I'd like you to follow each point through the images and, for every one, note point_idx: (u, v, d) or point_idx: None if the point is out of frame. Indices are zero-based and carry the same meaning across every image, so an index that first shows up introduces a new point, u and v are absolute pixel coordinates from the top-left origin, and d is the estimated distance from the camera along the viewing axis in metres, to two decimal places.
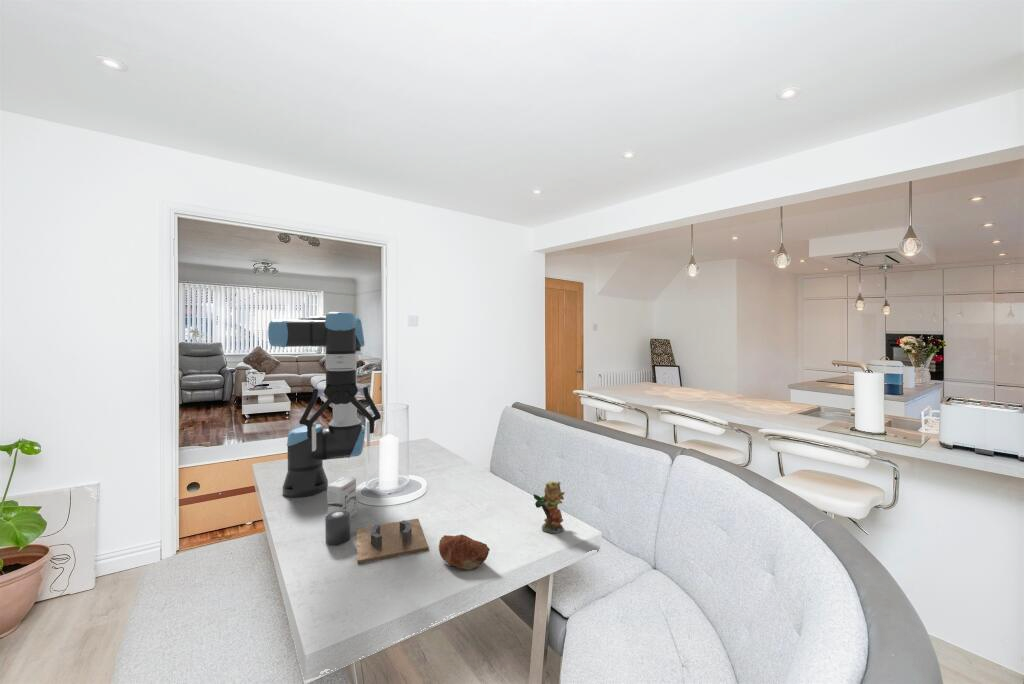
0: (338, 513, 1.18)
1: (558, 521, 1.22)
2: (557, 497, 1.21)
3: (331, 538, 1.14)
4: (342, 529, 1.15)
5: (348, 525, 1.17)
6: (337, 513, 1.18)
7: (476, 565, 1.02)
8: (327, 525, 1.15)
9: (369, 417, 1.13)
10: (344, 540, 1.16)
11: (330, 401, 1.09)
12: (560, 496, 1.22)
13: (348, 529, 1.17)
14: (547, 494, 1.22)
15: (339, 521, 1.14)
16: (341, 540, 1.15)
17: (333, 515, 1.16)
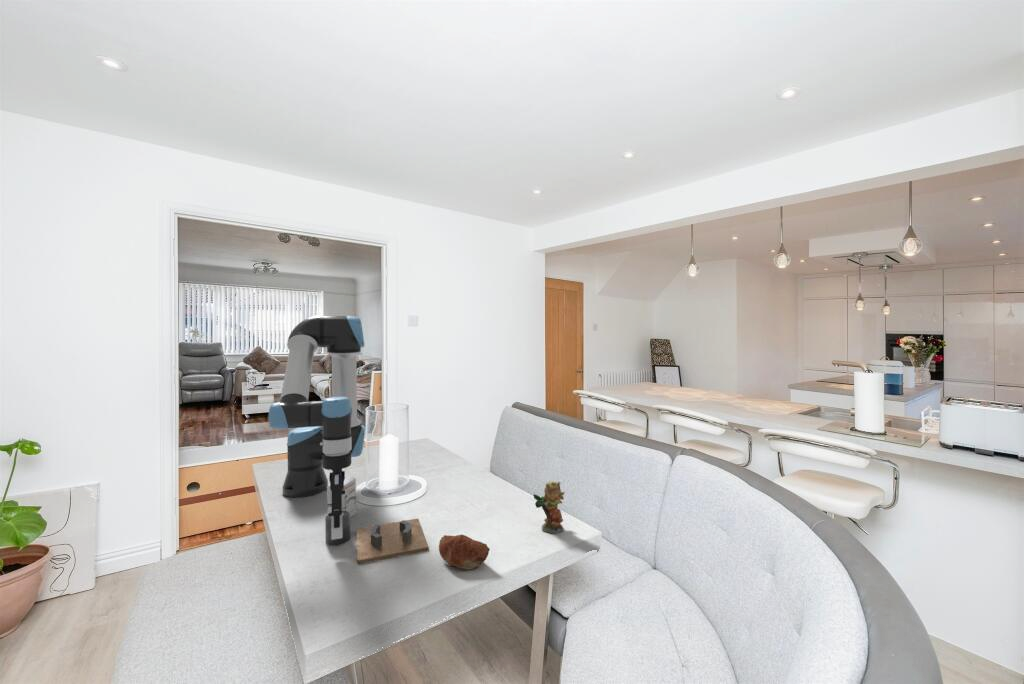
0: None
1: (558, 521, 1.22)
2: (557, 497, 1.21)
3: None
4: (342, 529, 1.15)
5: (348, 525, 1.17)
6: None
7: (476, 565, 1.02)
8: (327, 525, 1.15)
9: None
10: (344, 540, 1.16)
11: None
12: (560, 496, 1.22)
13: (348, 529, 1.17)
14: (547, 494, 1.22)
15: None
16: (341, 540, 1.15)
17: None
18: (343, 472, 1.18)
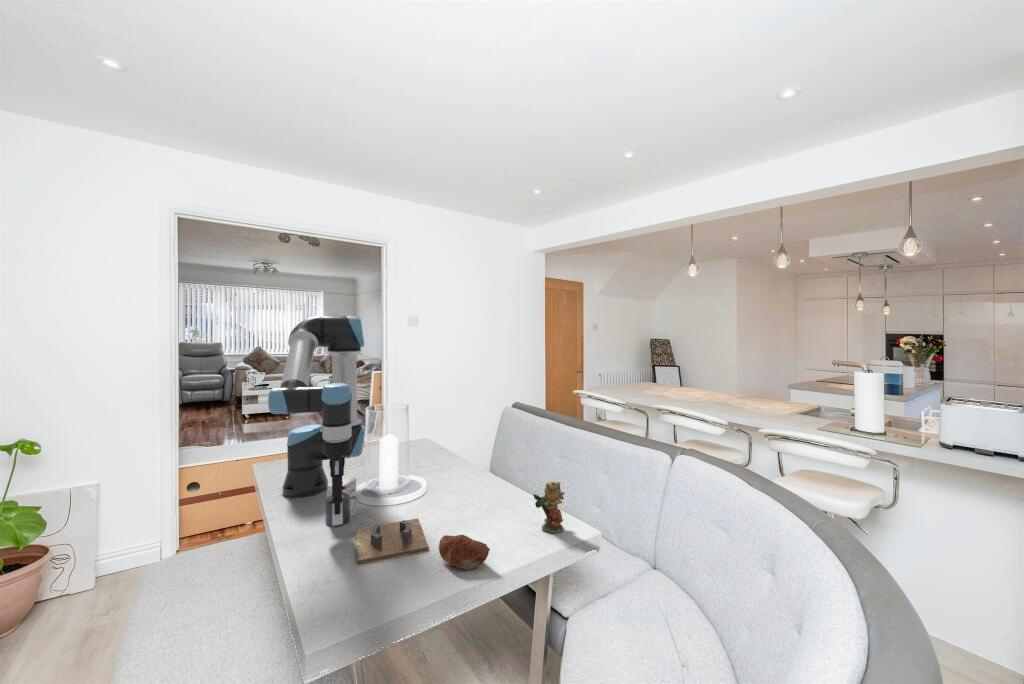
0: None
1: (558, 521, 1.22)
2: (557, 497, 1.21)
3: (331, 519, 1.15)
4: None
5: (348, 507, 1.17)
6: None
7: (476, 565, 1.02)
8: (327, 507, 1.15)
9: None
10: (344, 522, 1.16)
11: None
12: (560, 496, 1.22)
13: (348, 511, 1.17)
14: (547, 494, 1.22)
15: None
16: None
17: None
18: (343, 457, 1.18)
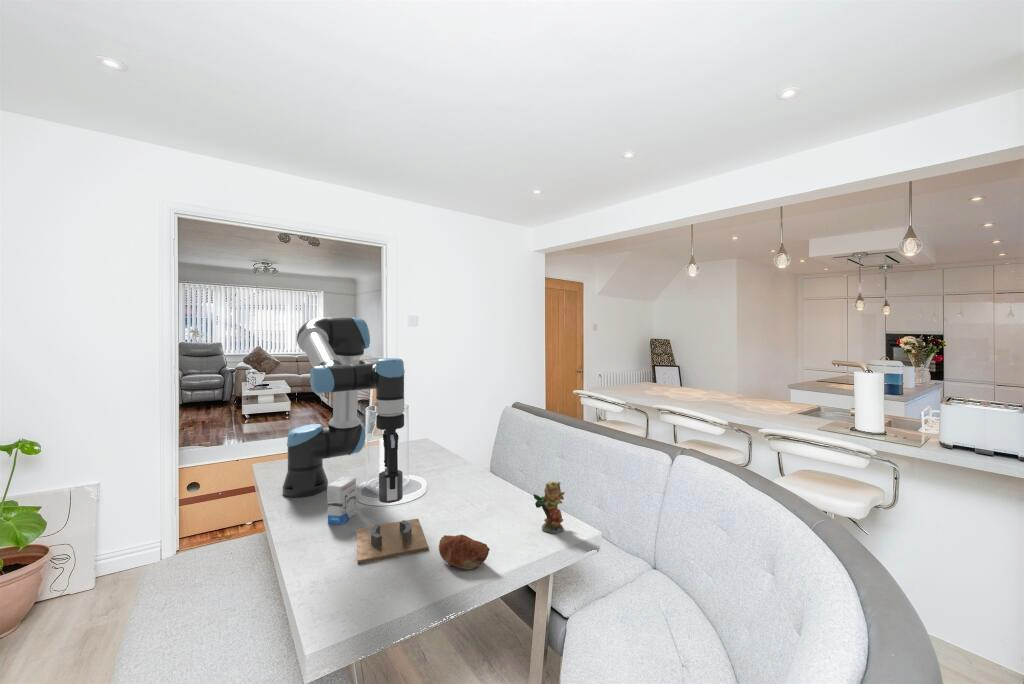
0: None
1: (558, 521, 1.22)
2: (557, 497, 1.21)
3: (385, 495, 1.13)
4: None
5: (401, 483, 1.16)
6: None
7: (476, 565, 1.02)
8: (381, 482, 1.14)
9: (387, 471, 1.12)
10: (398, 497, 1.15)
11: None
12: (560, 496, 1.22)
13: (401, 487, 1.16)
14: (547, 494, 1.22)
15: None
16: None
17: (386, 473, 1.16)
18: (396, 433, 1.18)
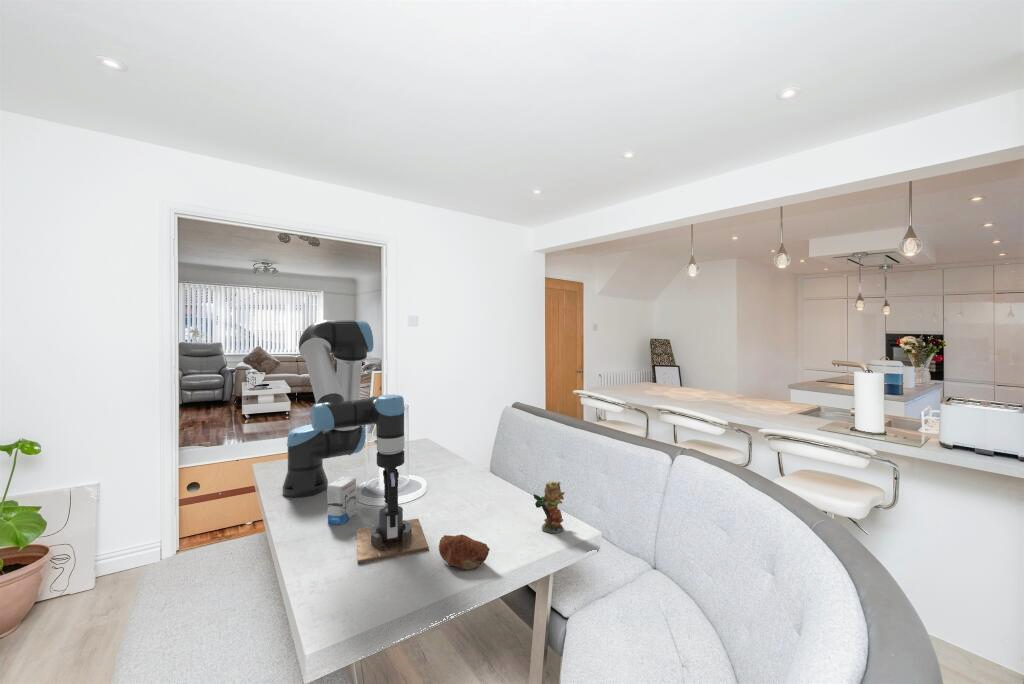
0: None
1: (558, 521, 1.22)
2: (557, 497, 1.21)
3: (385, 532, 1.14)
4: None
5: (401, 520, 1.16)
6: None
7: (476, 565, 1.02)
8: (381, 520, 1.14)
9: None
10: (398, 535, 1.15)
11: None
12: (560, 496, 1.22)
13: (401, 524, 1.16)
14: (547, 494, 1.22)
15: None
16: None
17: (387, 510, 1.16)
18: (396, 469, 1.18)
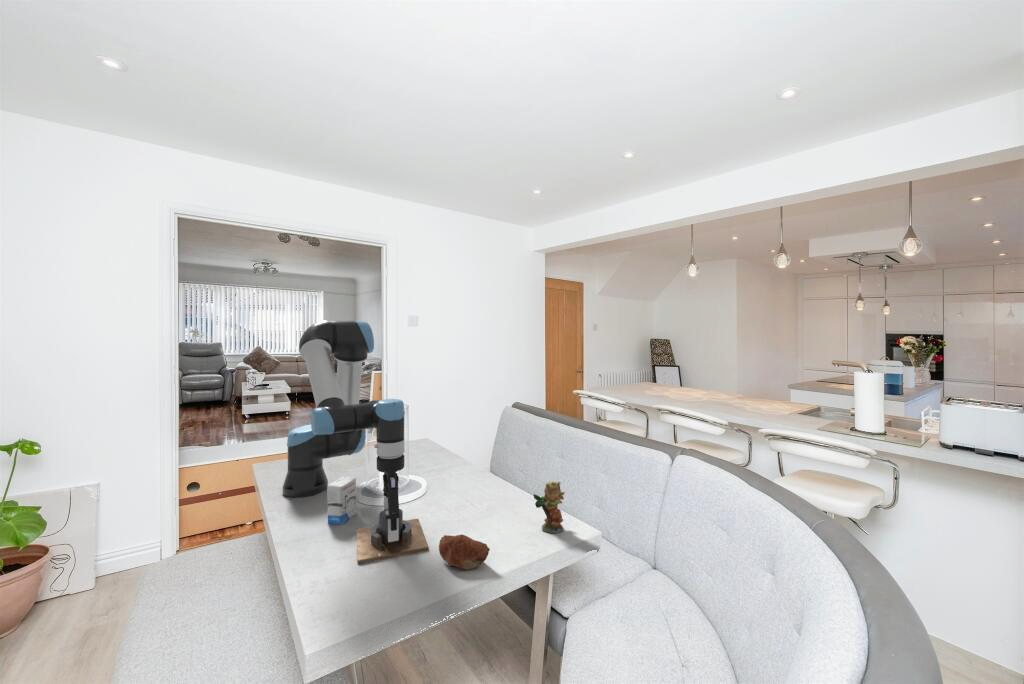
0: None
1: (558, 521, 1.22)
2: (557, 497, 1.21)
3: (385, 535, 1.14)
4: None
5: (401, 522, 1.16)
6: None
7: (476, 565, 1.02)
8: (381, 522, 1.14)
9: None
10: None
11: (383, 481, 1.18)
12: (560, 496, 1.22)
13: (401, 526, 1.16)
14: (547, 494, 1.22)
15: None
16: None
17: (387, 512, 1.16)
18: (396, 474, 1.18)
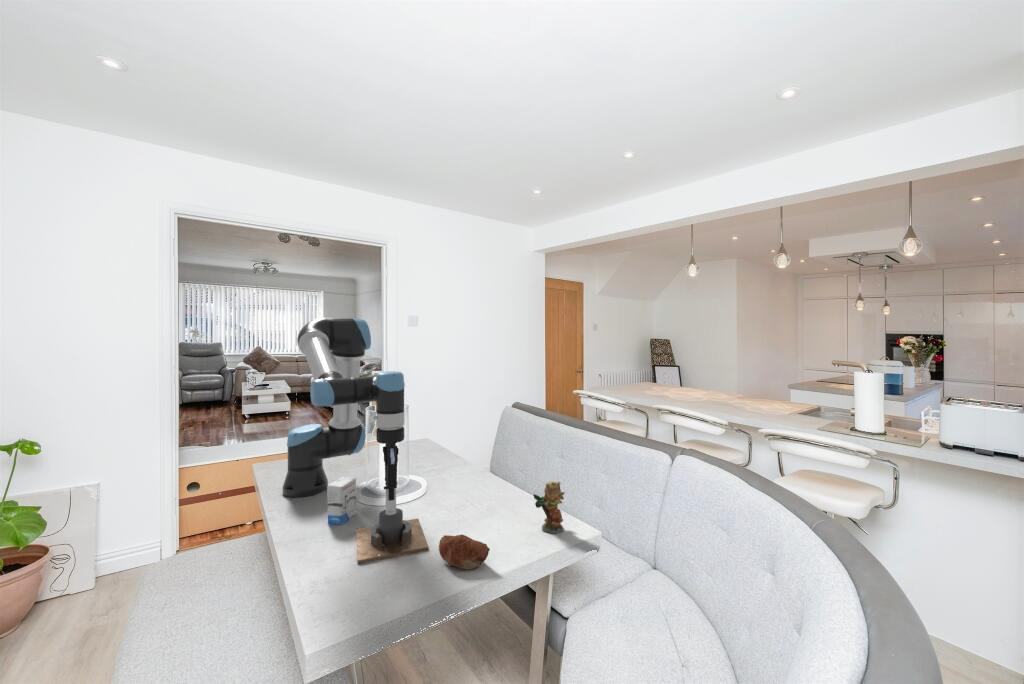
0: None
1: (558, 521, 1.22)
2: (557, 497, 1.21)
3: (385, 535, 1.14)
4: (397, 527, 1.15)
5: (401, 522, 1.16)
6: None
7: (476, 565, 1.02)
8: (381, 522, 1.14)
9: None
10: (398, 537, 1.15)
11: None
12: (560, 496, 1.22)
13: (401, 526, 1.16)
14: (547, 494, 1.22)
15: (394, 519, 1.14)
16: (395, 537, 1.14)
17: (387, 512, 1.16)
18: (396, 446, 1.18)
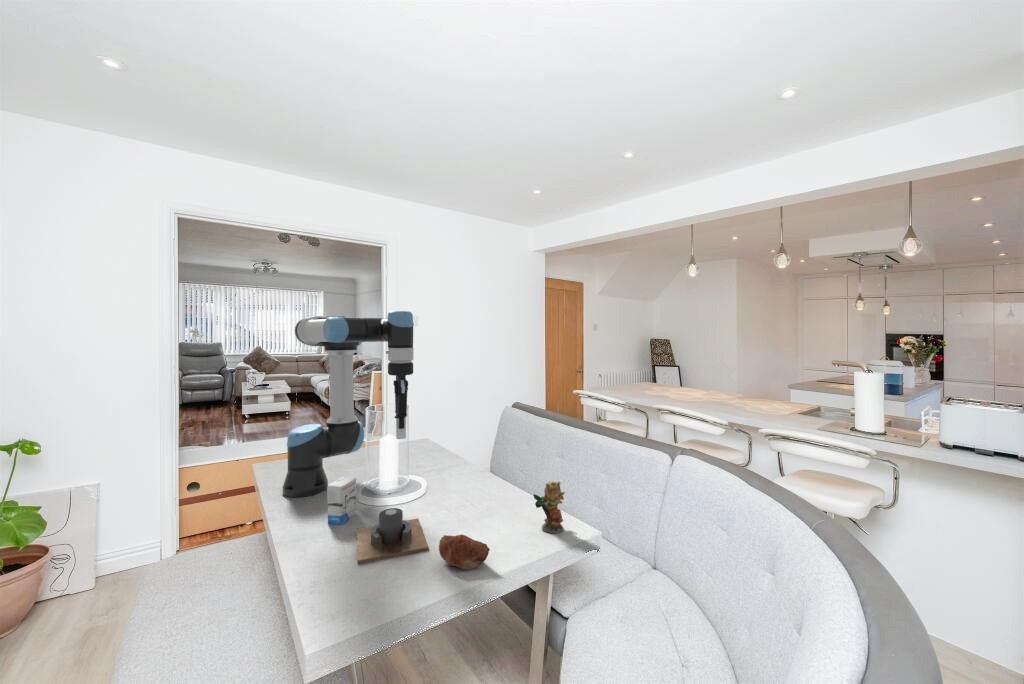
0: (391, 510, 1.17)
1: (558, 521, 1.22)
2: (557, 497, 1.21)
3: (385, 535, 1.14)
4: (397, 527, 1.15)
5: (401, 522, 1.16)
6: (390, 510, 1.17)
7: (476, 565, 1.02)
8: (381, 522, 1.14)
9: (397, 413, 1.25)
10: (398, 537, 1.15)
11: (394, 389, 1.27)
12: (560, 496, 1.22)
13: (401, 526, 1.16)
14: (547, 494, 1.22)
15: (394, 519, 1.14)
16: (395, 537, 1.14)
17: (387, 512, 1.16)
18: (405, 380, 1.28)
